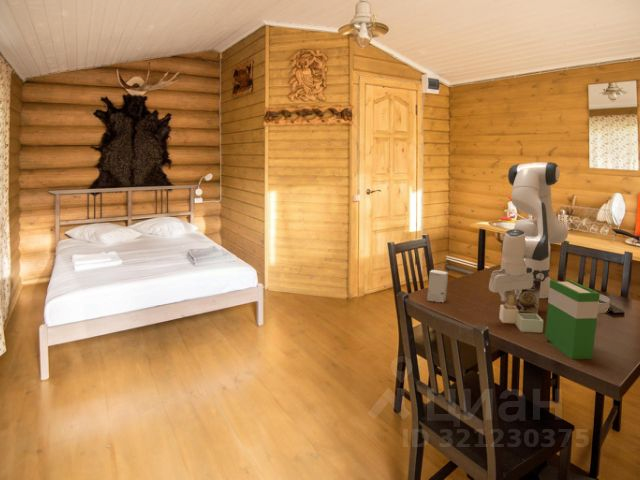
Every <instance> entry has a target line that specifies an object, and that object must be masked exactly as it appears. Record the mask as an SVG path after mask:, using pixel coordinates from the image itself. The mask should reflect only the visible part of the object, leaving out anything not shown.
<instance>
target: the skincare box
mask: <svg viewBox="0 0 640 480" xmlns="http://www.w3.org/2000/svg"><path fill="white" fill-rule="evenodd" d="M448 276H449V271H443V270H437V269H431V270H430V271H429V275H428V286H427V298H426V300H427V301H428V302H434V301H435V303H440V302H442V303H441V304H443V303H444V302H446V299H447V290H448V289H447V288H448V278H449V277H448Z"/></svg>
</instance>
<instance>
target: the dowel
mask: <svg viewBox="0 0 640 480" xmlns="http://www.w3.org/2000/svg"><path fill="white" fill-rule="evenodd" d="M505 297H507V301H504V305H505V309H514V305H515V300H514V297H515V290H514V289H513V290H512V291H505Z"/></svg>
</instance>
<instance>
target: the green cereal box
mask: <svg viewBox="0 0 640 480" xmlns="http://www.w3.org/2000/svg"><path fill="white" fill-rule="evenodd" d="M600 294H601V293H600V292H597V291H596V290H593V289H592V288H590V287H587V286H584V285H583V284H580V283H578V282H575V281H574V280H571V279H566V281H556V280H554V279H551V280H550V288H549V297H548V298H547V310H546V311H547V312H546V319H545V320H546V321H545V329H544V330H545V331H544V332H545V334H544V337H545V339H547V343H549V344H551V345H552V346H553V347H555V348H557V349H558V350H559V351H560V352H561V353H563V354H564V355H565V356H567V357H568V358H570V359H571V360H584V359H585V360H586V359H587V360H588V359H589V360H590V359H592V360H593V357H594V355H593V354H594V347H595V340H596V339H595V338H596V329H597V323H598V322H597V320H598V314H599V313H598V305H599V296H600Z"/></svg>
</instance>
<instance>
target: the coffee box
mask: <svg viewBox="0 0 640 480" xmlns="http://www.w3.org/2000/svg"><path fill="white" fill-rule="evenodd" d="M540 286H541V279H540V278H533V286H532V288H531V289H522V292H521V294H520V295H519V299H518V300H516V305H515V306H516V308H517V309H518V312H519V313H531V314H538V313H539V305H540V298H539V295H540ZM538 315H539V314H538Z"/></svg>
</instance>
